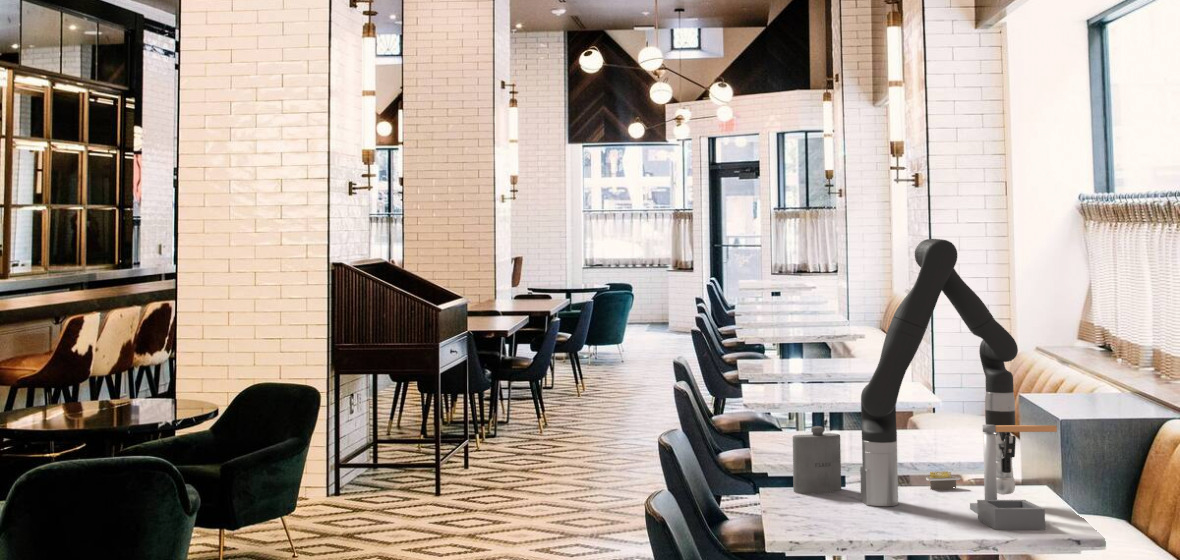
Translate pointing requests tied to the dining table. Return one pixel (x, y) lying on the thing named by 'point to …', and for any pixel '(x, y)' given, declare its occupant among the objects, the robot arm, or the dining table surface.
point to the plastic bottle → (1003, 479)
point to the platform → (942, 480)
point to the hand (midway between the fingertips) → (1001, 470)
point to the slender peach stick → (1019, 428)
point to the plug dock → (1004, 511)
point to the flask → (816, 462)
